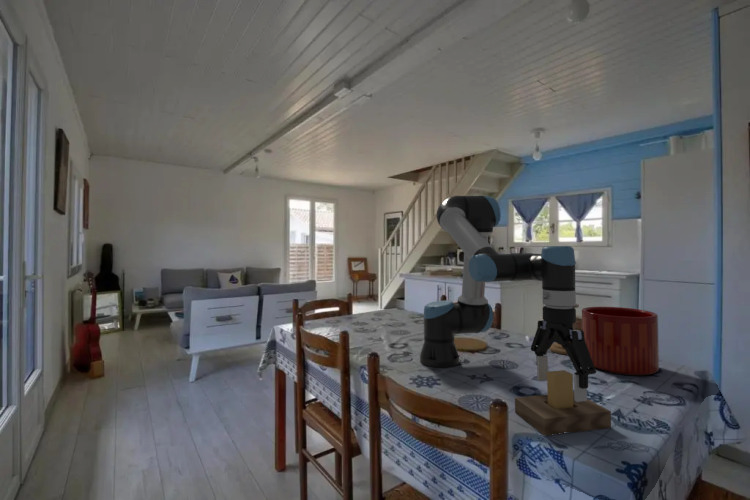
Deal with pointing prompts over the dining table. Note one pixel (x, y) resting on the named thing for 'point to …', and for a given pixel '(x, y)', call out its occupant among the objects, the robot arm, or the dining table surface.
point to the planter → (622, 339)
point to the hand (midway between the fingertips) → (560, 389)
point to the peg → (560, 389)
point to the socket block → (562, 415)
